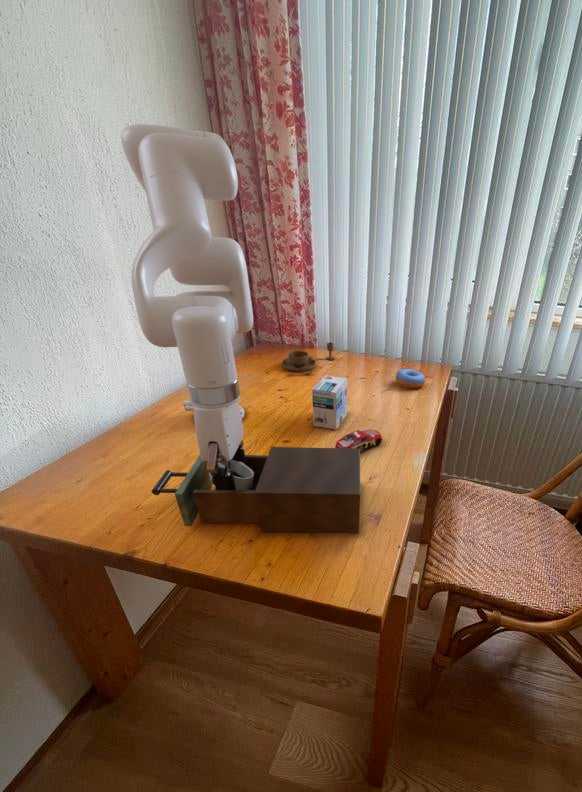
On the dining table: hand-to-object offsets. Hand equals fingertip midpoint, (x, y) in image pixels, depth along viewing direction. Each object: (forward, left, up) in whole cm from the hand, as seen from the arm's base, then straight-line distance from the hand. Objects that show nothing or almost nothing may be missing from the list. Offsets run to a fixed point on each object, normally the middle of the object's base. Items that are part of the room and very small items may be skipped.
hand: (232, 478), depth 72 cm
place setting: (+6, +78, -7) cm, 78 cm away
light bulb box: (+16, +37, -7) cm, 41 cm away
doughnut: (+41, +64, -7) cm, 76 cm away
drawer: (-2, 0, -6) cm, 6 cm away
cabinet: (+15, 0, -7) cm, 16 cm away
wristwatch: (0, 0, -1) cm, 1 cm away
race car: (+24, +23, -7) cm, 34 cm away
